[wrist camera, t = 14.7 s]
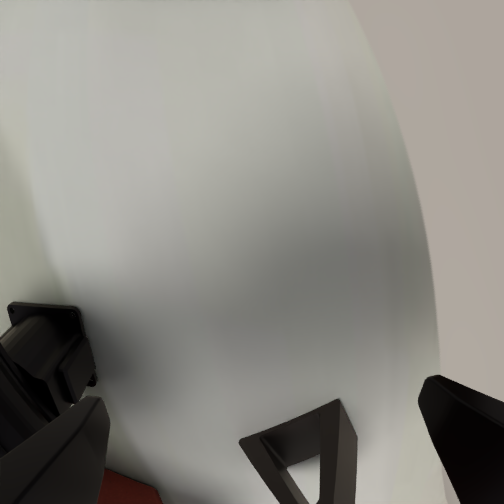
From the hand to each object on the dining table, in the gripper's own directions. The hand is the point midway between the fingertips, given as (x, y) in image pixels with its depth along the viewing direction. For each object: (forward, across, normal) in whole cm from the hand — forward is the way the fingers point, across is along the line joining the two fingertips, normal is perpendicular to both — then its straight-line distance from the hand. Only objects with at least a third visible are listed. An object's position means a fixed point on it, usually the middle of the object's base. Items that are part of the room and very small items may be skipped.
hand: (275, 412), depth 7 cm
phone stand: (+12, -5, +16) cm, 21 cm away
